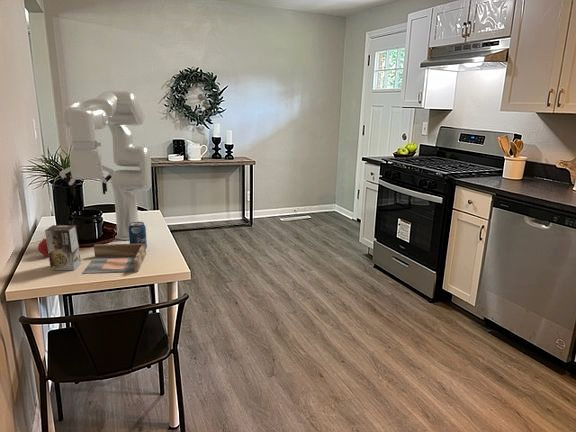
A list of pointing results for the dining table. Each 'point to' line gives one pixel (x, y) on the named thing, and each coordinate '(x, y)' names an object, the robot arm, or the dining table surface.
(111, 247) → the corner arena
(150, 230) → the dining table surface
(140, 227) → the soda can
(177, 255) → the dining table surface
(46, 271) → the dining table surface
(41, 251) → the onion
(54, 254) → the coffee box
